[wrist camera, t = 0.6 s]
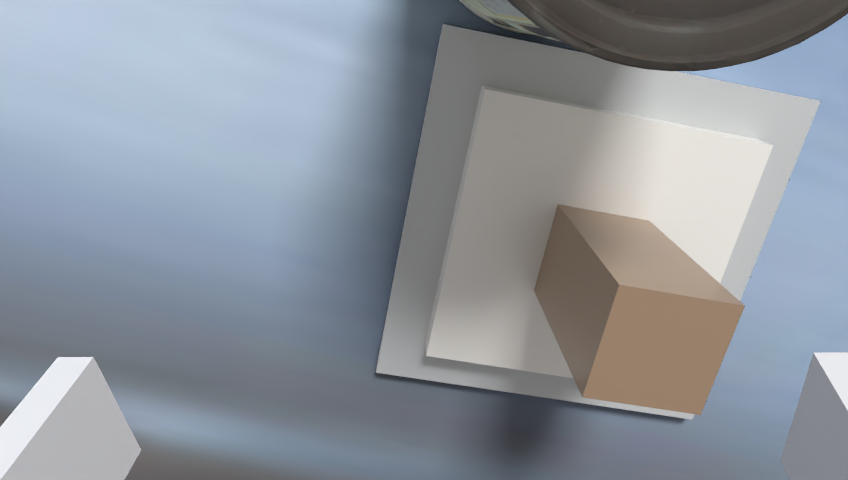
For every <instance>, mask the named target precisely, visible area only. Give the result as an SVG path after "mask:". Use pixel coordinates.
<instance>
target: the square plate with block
mask: <svg viewBox="0 0 848 480" xmlns="http://www.w3.org/2000/svg"><path fill="white" fill-rule="evenodd" d="M772 148H773V145H771V144H769V143H766V142H763V141H761V140H758V139H754V138H748V137H743V136H738V135H733V134H728V133H723V132H718V131H713V130H708V129H702V128H697V127H692V126H687V125H682V124H677V123H672V122H667V121H662V120H656V119H651V118H646V117H641V116H636V115H631V114H626V113H621V112H616V111H610V110H605V109H600V108H595V107H590V106H585V105H580V104H575V103H570V102H564V101H559V100H554V99H549V98H544V97H539V96H534V95H529V94H524V93H518V92H513V91H508V90H503V89H498V88H493V87H488V86H483V85H482V87H481V91H480V96H479V100H478V105H477V109H476V114H475V119H474V123H473V128H472V132H471V137H470V141H469V146H468V150H467V155H466V159H465V164H464V169H463V173H462V178H461V182H460V187H459V191H458V196H457V200H456V205H455V209H454V214H453V219H452V223H451V228H450V232H449V237H448V241H447V246H446V250H445V255H444V259H443V264H442V269H441V273H440V278H439V282H438V287H437V291H436V296H435V300H434V305H433V310H432V314H431V319H430V323H429V328H428V332H427V337H426V341H425V346H426V356H430V357H437V358H443V359H450V360H457V361H463V362H470V363H476V364H483V365H489V366H496V367H502V368H509V369H516V370H522V371H529V372H535V373H542V374H548V375H555V376H562V377H568V378H574V380H575V382H576V385H577V387H578V389H579V391H580V393H581V396H582V397H583V398H589V399H596V400H603V401H610V402H616V403H623V404H630V405H636V406H643V407H650V408H656V409H663V410H670V411H676V412H683V413H690V414H696V415H701V412H702V410H703V408H704V405H705V403H706V400H707V398H708V395H709V393H710V390H711V388H712V385H713V383H714V380H715V378H716V376H717V373H718V371H719V368H720V366H721V363H722V361H723V358H724V356H725V353H726V351H727V348H728V346H729V344H730V341H731V339H732V336H733V334H734V331H735V329H736V326H737V324H738V321H739V319H740V316H741V314H742V312H743V309H744V307H745V305H743V304H742V303H741V302H740V301H739V300H738V299H737V298H736V297H734V296H733V295H732V294H731V293H730V292H729V291H728V290H727V289H725V288H724V287H723V286H722V285H721V284H720V282H721V280H722V277H723V275H724V272H725V269H726V267H727V264H728V262H729V259H730V256H731V254H732V251H733V249H734V246H735V243H736V241H737V238H738V236H739V233H740V231H741V228H742V225H743V223H744V220H745V218H746V215H747V212H748V210H749V207H750V205H751V202H752V199H753V197H754V194H755V192H756V189H757V187H758V184H759V181H760V179H761V176H762V174H763V171H764V168H765V166H766V163H767V161H768V158H769V155H770V153H771V150H772Z"/></svg>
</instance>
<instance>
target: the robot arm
mask: <svg viewBox="0 0 848 480" xmlns="http://www.w3.org/2000/svg"><path fill="white" fill-rule="evenodd" d="M140 451H141V449H140V447H139V445H138V443H137V441H136V439H135V437H134V435H133V433H132V431H131V429H130V427H129V425H128V423H127V421H126V419H125V418H124V416H123V414H122V412H121V410H120V408H119V406H118V404H117V402H116V400H115V398H114V396H113V394H112V392H111V390H110V388H109V386H108V384H107V382H106V381H105V379H104V377H103V375H102V373H101V371H100V369H99V367H98V365H97V363H96V361H95V359H94V357H58V358H57V359H56V360H55V361H54V363H53V364H52V365H51V366H50V367H49V369H48V370H47V371H46V372H45V374H44V375H43V376H42V377H41V378H40V380H39V381H38V382H37V383H36V384H35V386H34V387H33V388H32V389H31V391H30V392H29V393H28V394H27V395H26V397H25V398H24V399H23V400H22V401H21V403H20V404H19V405H18V406H17V408H16V409H15V410H14V411H13V412H12V414H11V415H10V416H9V417H8V418H7V420H6V421H5V422H4V423H3V424H2V426H1V427H0V480H124V479H125V478H126V476H127V474H128V472H129V471H130V469H131V467H132V465H133V464H134V462H135V460H136V458H137V457H138V455H139V453H140ZM781 462H782V464H783V466H784V469H785V471H786V473H787V475H788V478H789V480H848V353H813V356H812V360H811V363H810V366H809V369H808V373H807V376H806V379H805V382H804V386H803V389H802V392H801V396H800V399H799V402H798V405H797V409H796V412H795V415H794V419H793V422H792V425H791V428H790V432H789V435H788V438H787V441H786V445H785V448H784V451H783V455H782V458H781Z"/></svg>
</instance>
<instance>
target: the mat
mask: <svg viewBox="0 0 848 480" xmlns="http://www.w3.org/2000/svg"><path fill="white" fill-rule="evenodd" d="M482 85H483V86H488V87H493V88H498V89H503V90H508V91H513V92H518V93H524V94H529V95H534V96H539V97H544V98H549V99H554V100H559V101H564V102H570V103H575V104H580V105H585V106H590V107H595V108H600V109H605V110H610V111H616V112H621V113H626V114H631V115H636V116H641V117H646V118H651V119H656V120H662V121H667V122H672V123H677V124H682V125H687V126H692V127H697V128H702V129H708V130H713V131H718V132H723V133H728V134H733V135H738V136H743V137H748V138H754V139H758V140H761V141H763V142H766V143H769V144H771V145H773V148H772V150H771V153H770V155H769V158H768V161H767V163H766V166H765V168H764V171H763V174H762V176H761V179H760V181H759V184H758V187H757V189H756V192H755V194H754V197H753V199H752V202H751V205H750V207H749V210H748V212H747V215H746V218H745V220H744V223H743V225H742V228H741V231H740V233H739V236H738V238H737V241H736V243H735V246H734V249H733V251H732V254H731V256H730V259H729V262H728V264H727V267H726V269H725V272H724V275H723V277H722V280H721V282H720V284H721V285H722V286H723V287H724V288H725V289H727V290H728V291H729V292H730V293H731V294H732V295H733V296H734V297H736V298H737V299H738V300H739V301H740V300H741V298H742V295H743V293H744V290H745V288H746V285H747V283H748V280H749V278H750V275H751V273H752V270H753V268H754V265H755V263H756V260H757V258H758V255H759V253H760V250H761V248H762V245H763V243H764V240H765V238H766V235H767V233H768V230H769V228H770V225H771V223H772V221H773V218H774V216H775V213H776V211H777V208H778V206H779V203H780V201H781V198H782V196H783V193H784V191H785V188H786V186H787V183H788V181H789V178H790V176H791V173H792V171H793V168H794V166H795V163H796V161H797V158H798V156H799V153H800V151H801V148H802V146H803V143H804V141H805V139H806V136H807V134H808V131H809V129H810V126H811V124H812V121H813V119H814V116H815V114H816V111H817V109H818V106H819V104H820V101H818V100H814V99H809V98H804V97H799V96H794V95H789V94H785V93H780V92H775V91H770V90H765V89H760V88H755V87H750V86H745V85H740V84H735V83H731V82H726V81H721V80H716V79H711V78H706V77H701V76H696V75H691V74H686V73H682V72H677V71H660V70H648V69H642V68H636V67H631V66H625V65H621V64H617V63H613V62H609V61H606V60H603V59H601V58H598V57H595V56H592V55H590V54H587V53H583V52H579V51H574V50H569V49H564V48H559V47H554V46H549V45H544V44H539V43H534V42H530V41H525V40H520V39H515V38H510V37H505V36H500V35H495V34H490V33H485V32H481V31H476V30H471V29H466V28H461V27H456V26H451V25H446V24H442V29H441V34H440V39H439V44H438V49H437V54H436V60H435V65H434V70H433V75H432V80H431V86H430V91H429V96H428V101H427V106H426V112H425V117H424V122H423V127H422V132H421V137H420V143H419V148H418V153H417V158H416V163H415V169H414V174H413V179H412V184H411V189H410V195H409V200H408V205H407V210H406V215H405V220H404V226H403V231H402V236H401V241H400V246H399V252H398V257H397V262H396V267H395V272H394V277H393V283H392V288H391V293H390V298H389V303H388V309H387V314H386V319H385V324H384V329H383V335H382V340H381V345H380V350H379V355H378V360H377V366H376V373H382V374H389V375H396V376H402V377H409V378H416V379H422V380H429V381H436V382H443V383H449V384H456V385H463V386H469V387H476V388H483V389H490V390H496V391H503V392H510V393H517V394H523V395H530V396H537V397H543V398H550V399H557V400H564V401H570V402H577V403H584V404H590V405H597V406H604V407H611V408H617V409H624V410H631V411H638V412H644V413H651V414H658V415H664V416H671V417H678V418H685V419H691V420H692V419H693V417H694V414H690V413H683V412H676V411H670V410H663V409H656V408H650V407H643V406H636V405H630V404H623V403H616V402H610V401H603V400H596V399H589V398H583V397H582V396H581V393H580V391H579V389H578V387H577V385H576V382H575V380H574V378H568V377H562V376H555V375H548V374H542V373H535V372H529V371H522V370H516V369H509V368H502V367H496V366H489V365H483V364H476V363H470V362H463V361H457V360H450V359H443V358H437V357H430V356H426V346H425V341H426V337H427V332H428V328H429V323H430V319H431V314H432V310H433V305H434V300H435V296H436V291H437V287H438V282H439V278H440V273H441V269H442V264H443V259H444V255H445V250H446V246H447V241H448V237H449V232H450V228H451V223H452V219H453V214H454V209H455V205H456V200H457V196H458V191H459V187H460V182H461V178H462V173H463V169H464V164H465V159H466V155H467V150H468V146H469V141H470V137H471V132H472V128H473V123H474V119H475V114H476V109H477V105H478V100H479V96H480V91H481V87H482Z"/></svg>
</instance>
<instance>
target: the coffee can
mask: <svg viewBox="0 0 848 480" xmlns="http://www.w3.org/2000/svg"><path fill="white" fill-rule="evenodd" d="M459 1H460V2H461V3H462V4H464V5H465V6H466V7H467V8H468V9H470V10H471V11H472V12H473V13H474V14H476V15H478V16H479V17H481V18H482V19H484V20H486V21H488V22H490V23H491V24H494V25H496V26H499V27H501V28H504V29H507V30H510V31H513V32H518V33H522V34H533V35H537V36H541V37H544V38H548V39H552V40H556V41H561V42H563V43H565V44H567V45H569V46H571V47H573V48H575V49H577V50H579V51H582V52H584V53H587V54H590V55H592V56H595V57H598V58H601V59H603V60H606V61H609V62H613V63H617V64H621V65H625V66H631V67H636V68H642V69H648V70H660V71H699V70H709V69H717V68H722V67H728V66H733V65H737V64H741V63H746V62H750V61H754V60H758V59H760V58H763V57H766V56H769V55H772V54H774V53H777V52H779V51H782V50H784V49H787V48H789V47H792V46H794V45H796V44H799V43H801V42H802V41H804V40H806V39H808V38H809V37H811V36H813V35H815V34H817V33H818V32H820V31H822V30H824V29H826V28H827V27H829V26H830V25H832V24H833V23H835V22H836V21H838V20H839V19H841V18H842V17H844V16H845V15H846V14H848V0H459Z"/></svg>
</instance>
